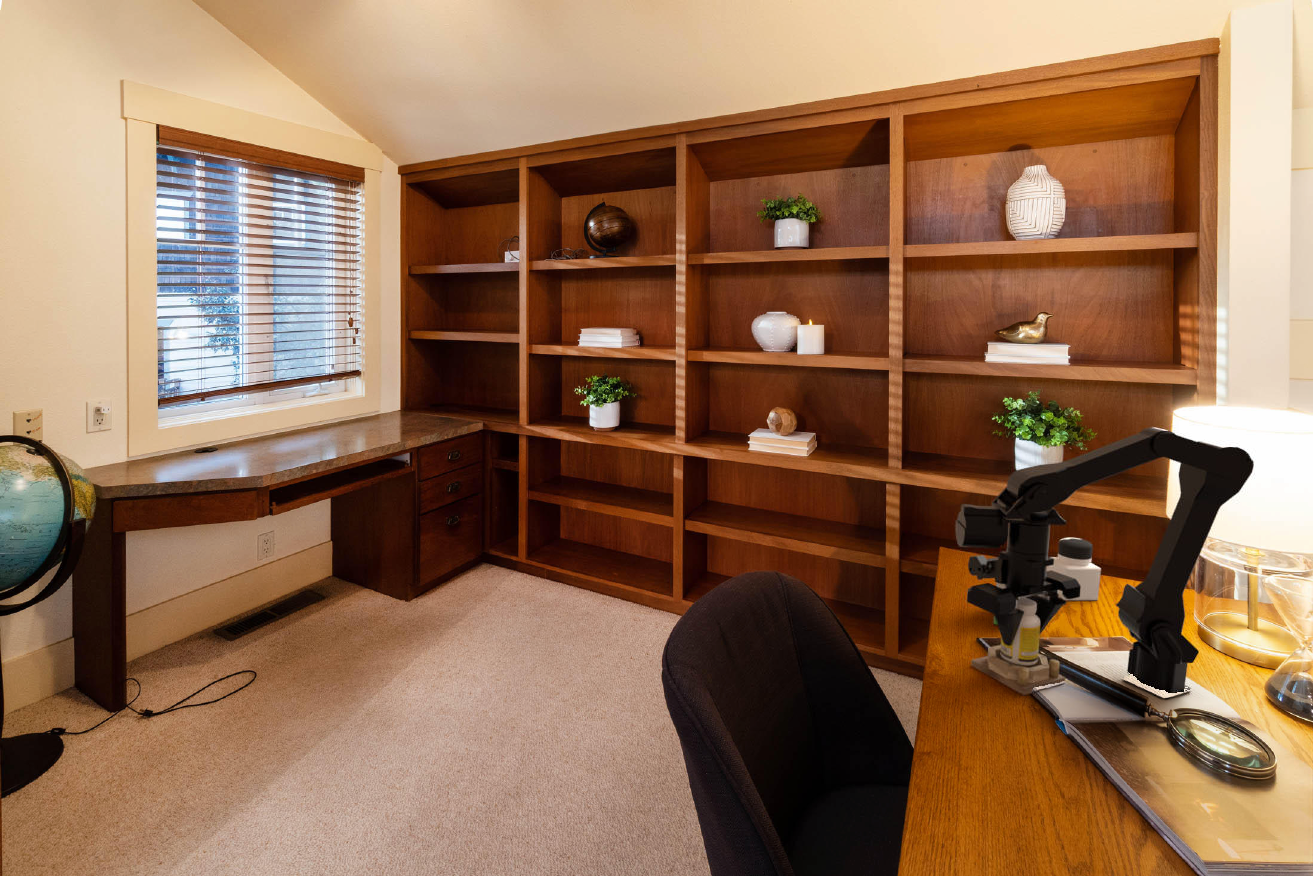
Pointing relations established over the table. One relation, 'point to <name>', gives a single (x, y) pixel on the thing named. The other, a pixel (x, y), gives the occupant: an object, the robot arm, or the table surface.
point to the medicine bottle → (1077, 567)
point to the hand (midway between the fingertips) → (1020, 641)
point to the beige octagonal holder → (1019, 671)
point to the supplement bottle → (1024, 637)
